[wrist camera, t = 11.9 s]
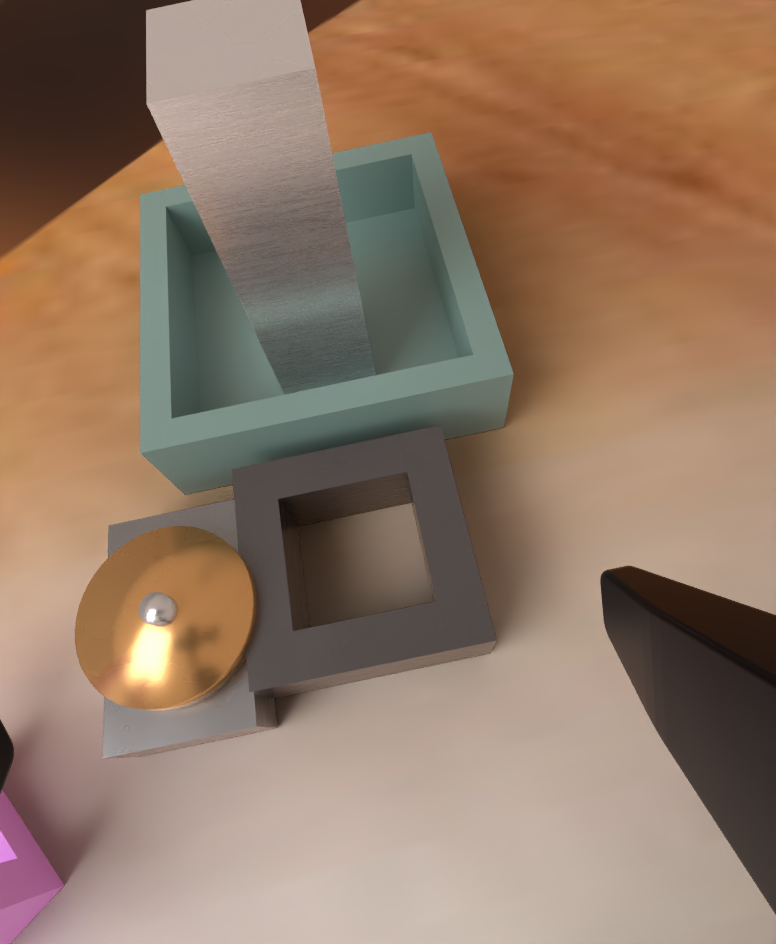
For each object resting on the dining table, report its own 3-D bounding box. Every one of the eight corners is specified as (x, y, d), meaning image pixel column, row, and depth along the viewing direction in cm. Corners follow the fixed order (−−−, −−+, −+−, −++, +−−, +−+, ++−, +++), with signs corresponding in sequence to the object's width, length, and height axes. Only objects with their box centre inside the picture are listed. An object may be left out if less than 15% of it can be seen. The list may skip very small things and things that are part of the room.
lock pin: (377, 381, 25) (315, 68, 13) (287, 400, 25) (146, 103, 13) (361, 311, 27) (295, -22, 15) (277, 329, 27) (146, 10, 15)
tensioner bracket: (497, 682, 20) (509, 668, 17) (127, 759, 21) (54, 763, 17) (441, 460, 24) (440, 408, 21) (129, 526, 24) (70, 486, 21)
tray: (504, 427, 25) (513, 373, 21) (185, 494, 25) (140, 453, 21) (433, 203, 31) (431, 132, 27) (176, 258, 31) (140, 194, 27)
